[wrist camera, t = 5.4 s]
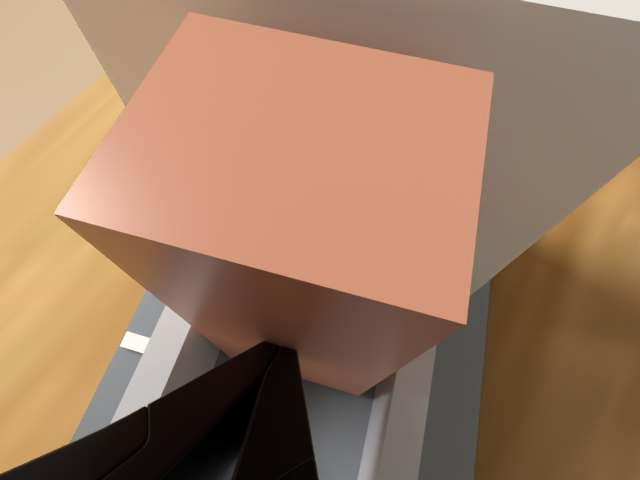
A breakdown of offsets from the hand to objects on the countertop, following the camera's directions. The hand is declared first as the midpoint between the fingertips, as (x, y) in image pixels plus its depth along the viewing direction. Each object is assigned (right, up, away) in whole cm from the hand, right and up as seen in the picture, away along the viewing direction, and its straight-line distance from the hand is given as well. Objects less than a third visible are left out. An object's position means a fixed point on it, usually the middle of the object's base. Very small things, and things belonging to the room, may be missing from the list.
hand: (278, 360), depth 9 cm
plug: (+1, -1, +6) cm, 6 cm away
